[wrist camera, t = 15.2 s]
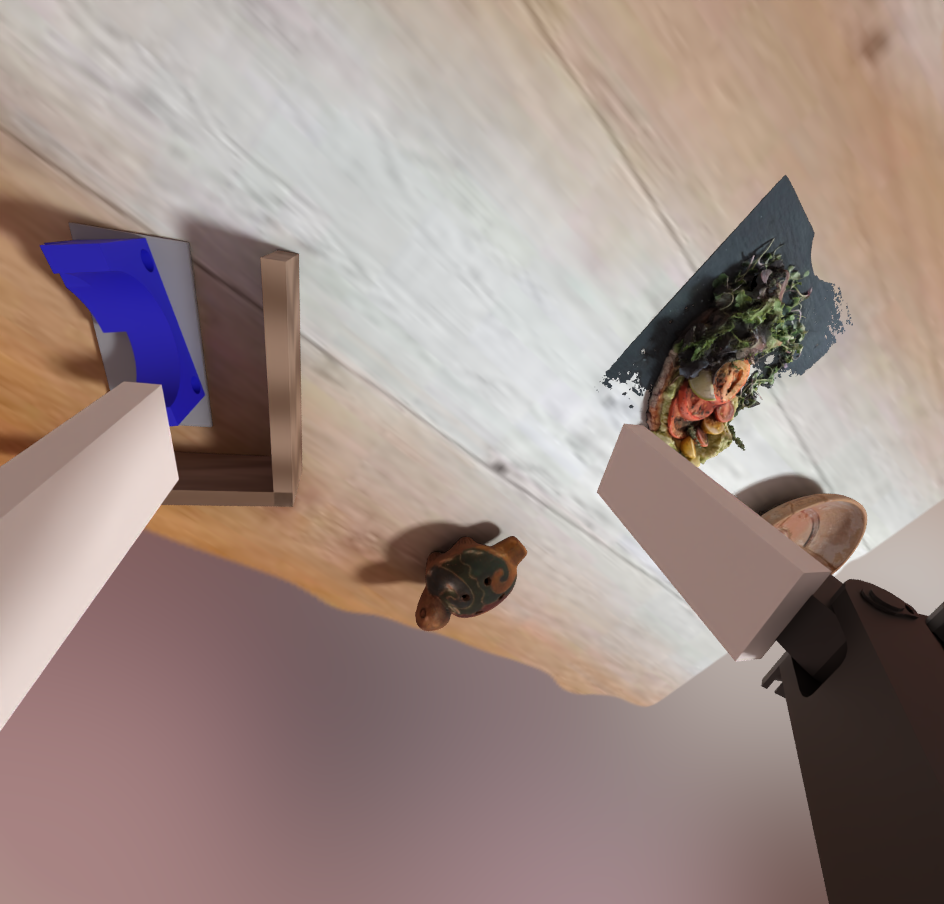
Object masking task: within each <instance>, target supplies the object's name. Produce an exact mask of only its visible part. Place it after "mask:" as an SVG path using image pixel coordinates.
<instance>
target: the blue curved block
mask: <svg viewBox="0 0 944 904" xmlns="http://www.w3.org/2000/svg"><path fill="white" fill-rule="evenodd" d="M44 244H45V245H40V247H41V249H42V251H43V253H44V255H45V257H46V259H47V261H48V263H49V265H50V267H51V269H52V271H53V273H54V274H57V273H59V274H60V276H61V278H62V280H63V282H64V284H65V286H66V288H68V289H69V290H70V291H71V292H72V293H74V294H75V295H76V296H77V297H78V298H79V299H80V300H81V301H82V302H83V303H84V304H85V306H86V307H87V308H88V309H89V311H90V312H91V313H92V315H93V316H94V318H95V319H96V321H97V322H98V324H99V326H100V328H101V330H102V332H103V333H111V332H127V335H128V337H129V340H130V343H131V346H132V349H133V353H134V357H135V363H136V374H137V376H136V383H148V384H160V385H162V390H163V395H164V401H165V406H166V412H167V417H168V422H169V426H178V425H179V424H180V423H181V422H182V421H183V420H184V419H185V417H186V416H187V415H188V414H189V413H190V412H191V411H192V410H193V408H194V407H195V406H196V405H197V404H198V403H199V402H200V401H201V399H202V398H203V397H204V396H205V392H204V390H203V387H202V385H201V382H200V379H199V377H198V374H197V371H196V369H195V366H194V364H193V361H192V358H191V356H190V353H189V350H188V348H187V345H186V343H185V340H184V337H183V335H182V332H181V329H180V327H179V324H178V322H177V319H176V316H175V314H174V311H173V308H172V306H171V303H170V301H169V298H168V295H167V293H166V290H165V287H164V285H163V282H162V280H161V277H160V274H159V272H158V269H157V266H156V264H155V261H154V259H153V256H152V253H151V251H150V248H149V245H148V243H147V240H146V238H129V239H96V240H70V241H60V242H49V243H44Z"/></svg>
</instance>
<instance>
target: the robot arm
mask: <svg viewBox="0 0 944 904" xmlns="http://www.w3.org/2000/svg"><path fill="white" fill-rule="evenodd" d="M178 480H179V477H178V472H177V466H176V461H175V455H174V450H173V444H172V439H171V433H170V428H169V422H168V417H167V412H166V406H165V401H164V395H163V390H162V385H160V384H148V383H136V382H122V383H121V384H119V385H118V386H117V387H115V388H114V389H112V390H111V391H109V392H108V393H106V394H105V395H104V396H102V397H101V398H99V399H98V400H96V401H95V402H93V403H92V404H91V405H89V406H88V407H86V408H85V409H83V410H82V411H80V412H79V413H78V414H76V415H75V416H73V417H72V418H70V419H69V420H67V421H66V422H65V423H63V424H62V425H60V426H59V427H57V428H56V429H54V430H53V431H51V432H50V433H49V434H47V435H46V436H44V437H43V438H41V439H40V440H38V441H37V442H36V443H34V444H33V445H31V446H30V447H28V448H27V449H25V450H24V451H23V452H21V453H20V454H18V455H17V456H15V457H14V458H12V459H11V460H10V461H8V462H7V463H5V464H4V465H2V466H1V467H0V731H1V729H2V728H3V726H4V725H5V724H6V722H7V721H8V719H9V718H10V717H11V715H12V714H13V712H14V711H15V710H16V708H17V707H18V705H19V704H20V702H21V701H22V700H23V698H24V697H25V695H26V694H27V693H28V691H29V690H30V688H31V687H32V686H33V684H34V683H35V681H36V680H37V679H38V677H39V676H40V674H41V673H42V671H43V670H44V669H45V667H46V666H47V664H48V663H49V662H50V660H51V659H52V657H53V656H54V655H55V653H56V652H57V650H58V649H59V647H60V646H61V645H62V643H63V642H64V640H65V639H66V638H67V636H68V635H69V633H70V632H71V630H72V629H73V628H74V626H75V625H76V623H77V622H78V621H79V619H80V618H81V617H82V615H83V614H84V612H85V611H86V610H87V608H88V607H89V605H90V604H91V602H92V601H93V600H94V598H95V597H96V595H97V594H98V593H99V591H100V590H101V588H102V587H103V586H104V584H105V583H106V581H107V580H108V578H109V577H110V576H111V574H112V573H113V571H114V570H115V569H116V567H117V566H118V564H119V563H120V562H121V560H122V559H123V557H124V556H125V555H126V553H127V552H128V550H129V549H130V547H131V546H132V545H133V543H134V542H135V540H136V539H137V538H138V536H139V535H140V533H141V532H142V531H143V529H144V528H145V526H146V525H147V524H148V522H149V521H150V519H151V518H152V517H153V515H154V514H155V512H156V511H157V510H158V508H159V507H160V505H161V504H162V502H163V501H164V500H165V498H166V497H167V495H168V494H169V493H170V491H171V490H172V488H173V487H174V486H175V484H176V483H177V481H178ZM597 493H598V494H599V495H600V496H601V498H602V499H603V500H604V501H605V503H606V504H607V505H608V506H609V507H610V509H611V510H612V511H613V512H614V514H615V515H616V516H617V517H618V518H619V520H620V521H621V522H622V523H623V525H624V526H625V527H626V528H627V529H628V531H629V532H630V533H631V534H632V536H633V537H634V538H635V539H636V540H637V542H638V543H639V544H640V545H641V547H642V548H643V549H644V550H645V551H646V553H647V554H648V555H649V556H650V558H651V559H652V560H653V561H654V562H655V564H656V565H657V566H658V567H659V569H660V570H661V571H662V572H663V573H664V575H665V576H666V577H667V578H668V580H669V581H670V582H671V583H672V584H673V586H674V587H675V588H676V589H677V591H678V592H679V593H680V594H681V595H682V597H683V598H684V599H685V600H686V602H687V603H688V604H689V605H690V606H691V608H692V609H693V610H694V611H695V613H696V614H697V615H698V616H699V618H700V619H701V620H702V621H703V622H704V624H705V625H706V626H707V627H708V629H709V630H710V631H711V632H712V633H713V635H714V636H715V637H716V638H717V640H718V641H719V642H720V643H721V644H722V646H723V647H724V648H725V649H726V651H727V652H728V653H729V654H730V655H731V657H732V658H733V659H734V660H735V661H745V660H752V659H761V658H762V657H763V656H764V654H765V653H766V652H767V651H768V650H769V649H770V647H771V646H772V645H773V644H774V642H775V641H777V642H778V643H779V644H780V645H781V646H782V647H783V648H784V649H785V650H786V652H785V653H784V654H783V655H782V657H781V658H780V659H779V660H778V661H777V663H776V664H775V665H774V666H773V667H772V668H771V670H770V671H769V672H768V673H767V675H766V676H765V677H764V678H763V680H762V687H764V688H766V689H767V688H768V687H769V686H770V685H771V684H772V682H773V681H774V680H778V681H782V683H781V684H780V686H779V687H778V688H777V689H776V690H775V693H776V694H778V695H780V696H782V697H784V698H786V702H787V706H788V711H789V716H790V721H791V725H792V730H793V735H794V740H795V744H796V749H797V754H798V759H799V763H800V768H801V773H802V778H803V782H804V787H805V791H806V797H807V801H808V806H809V810H810V815H811V820H812V825H813V830H814V835H815V839H816V844H817V849H818V854H819V858H820V863H821V868H822V872H823V877H824V882H825V887H826V891H827V896H828V901H829V904H944V602H943V603H942V604H941V605H940V606H939V607H938V608H937V609H936V610H935V611H934V612H933V613H932V614H931V615H930V616H925V615H921V614H918V613H917V612H916V611H915V610H914V608H913V607H912V606H910V605H908V604H907V603H905V602H904V601H902V600H901V599H899V598H898V597H896V596H895V595H893V594H892V593H890V592H888V591H886V590H884V589H882V588H880V587H878V586H875V585H873V584H871V583H868V582H864V581H861V580H854V579H849V580H847V581H846V582H844V583H841V582H840V581H839V580H837V579H836V578H835V577H834V576H832V575H831V574H830V573H831V572H832V571H830V570H829V569H828V568H826V567H825V566H824V565H823V564H821V563H820V562H819V561H817V560H816V559H815V558H814V557H812V556H811V555H810V554H808V553H807V552H806V551H804V550H803V549H802V548H801V547H799V546H798V545H797V544H795V543H794V542H793V541H792V540H790V539H789V538H788V537H786V536H785V535H784V534H783V533H781V532H780V531H779V530H777V529H776V528H775V527H774V526H772V525H771V524H770V523H768V522H767V521H766V520H764V519H763V518H762V517H761V516H759V515H758V514H757V513H755V512H754V511H753V510H752V509H750V508H749V507H748V506H746V505H745V504H744V503H743V502H741V501H740V500H739V499H737V498H736V497H735V496H734V495H732V494H731V493H730V492H728V491H727V490H726V489H724V488H723V487H722V486H721V485H719V484H718V483H717V482H715V481H714V480H713V479H712V478H710V477H709V476H708V475H706V474H705V473H704V472H703V471H701V470H700V469H699V468H697V467H696V466H695V465H694V464H692V463H691V462H690V461H688V460H687V459H686V458H685V457H683V456H682V455H681V454H679V453H678V452H677V451H675V450H674V449H673V448H672V447H670V446H669V445H668V444H666V443H665V442H664V441H663V440H661V439H660V438H659V437H657V436H656V435H655V434H654V433H652V432H651V431H650V430H648V429H647V428H646V427H645V426H643V425H631V424H624V425H623V427H622V430H621V432H620V435H619V437H618V440H617V442H616V445H615V447H614V450H613V452H612V455H611V457H610V460H609V463H608V465H607V468H606V470H605V473H604V475H603V478H602V480H601V483H600V485H599V488H598V490H597Z"/></svg>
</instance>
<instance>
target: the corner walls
mask: <svg viewBox="0 0 944 904" xmlns="http://www.w3.org/2000/svg"><path fill="white" fill-rule="evenodd" d="M260 259H261V277H262V295H263V312H264V330H265V348H266V366H267V383H268V401H269V419H270V437H271V454H272V456H254V455H232V454H210V453H187V452H174V455H175V461H176V466H177V472H178V477H179V480H178V481H177V483H176V484H175V486H174V487H173V488H172V490H171V491H170V493H169V494H168V495H167V497H166V498H165V500H164V501H163V502H162V504H161V505H212V506H283V507H293V505H294V501H295V497H296V493H297V489H298V485H299V481H300V477H301V473H302V425H301V362H300V299H299V254H297V253H291V252H285V251H279V250H277V251H275V252H272V253H270V254H268V255H265V256H263V257H260Z"/></svg>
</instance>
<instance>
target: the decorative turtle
mask: <svg viewBox="0 0 944 904" xmlns="http://www.w3.org/2000/svg"><path fill="white" fill-rule="evenodd" d="M526 555H527V550H526V549H525V547H524V546H523V545H522V544H521V542H520V541H519V540H518V539H517V538H516V537H514V536H510V537H508V538H506V539H504V540H502V541H500V542H498V543H497V544H495V545H493V546H486V545H482V544H478V543H476V542H475V541H474V540H473V539H472V538H470V537H462V538H460V539H459V540H458V541H457V542H456V544H455V545H454V546H453V547H452V548H451V549H450V550H448V551H447V552H445V553H444V554H443V553H440V552H433V553H431V554H430V555H429V557H428V559H427V565H426V587H425V589H424V591H423V593H422V595H421V597H420V600H419V603H418V606H417V610H416V612H415V616H416V622H417V625H418V626H419V627H420V628H421V629H422V630H425V631H433V630H438V629H440V628H443V627H444V626H445V625H446V624H447V623H448V622H449V619H450V616H451V614H453V615H455V616H457V617H462V618H468V617H474V616H478V615H481V614H483V613H486V612H488V611H489V610H491V609H493V608H494V607H496V606H497V605H498V604H500V603H501V602H502V601H503V600H504V599H505V598H506V597H507V596H508V595H509V594H510V593H511V591H512V589H513V587H514V585H515V582H516V579H517V566H518V564H519V563H520V562H521V561H522V559H523V558H524V557H525V556H526Z"/></svg>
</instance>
